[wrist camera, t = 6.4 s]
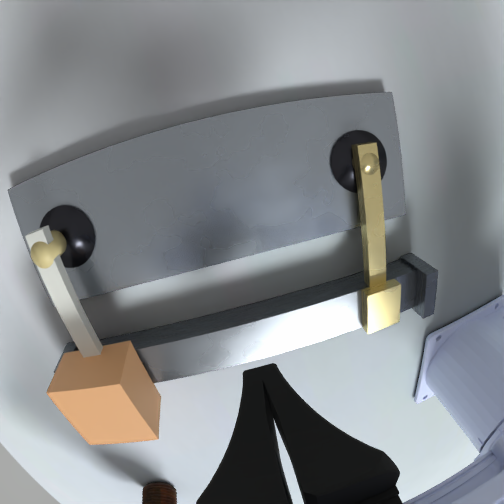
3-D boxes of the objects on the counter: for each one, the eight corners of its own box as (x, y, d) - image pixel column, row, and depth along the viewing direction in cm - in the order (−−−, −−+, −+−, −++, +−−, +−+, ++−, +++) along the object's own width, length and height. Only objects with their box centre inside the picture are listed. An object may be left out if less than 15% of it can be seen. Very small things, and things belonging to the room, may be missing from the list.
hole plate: (385, 92, 13) (393, 91, 13) (399, 211, 16) (407, 215, 15) (13, 187, 12) (6, 190, 11) (57, 300, 14) (52, 307, 14)
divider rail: (404, 135, 14) (436, 138, 12) (410, 293, 18) (433, 313, 16) (16, 234, 13) (-9, 252, 10) (89, 378, 16) (79, 408, 14)
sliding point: (84, 209, 12) (47, 237, 8) (161, 386, 16) (158, 439, 12) (17, 234, 12) (-26, 266, 8) (101, 395, 16) (89, 444, 12)
